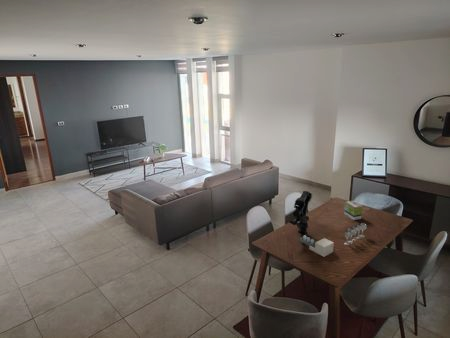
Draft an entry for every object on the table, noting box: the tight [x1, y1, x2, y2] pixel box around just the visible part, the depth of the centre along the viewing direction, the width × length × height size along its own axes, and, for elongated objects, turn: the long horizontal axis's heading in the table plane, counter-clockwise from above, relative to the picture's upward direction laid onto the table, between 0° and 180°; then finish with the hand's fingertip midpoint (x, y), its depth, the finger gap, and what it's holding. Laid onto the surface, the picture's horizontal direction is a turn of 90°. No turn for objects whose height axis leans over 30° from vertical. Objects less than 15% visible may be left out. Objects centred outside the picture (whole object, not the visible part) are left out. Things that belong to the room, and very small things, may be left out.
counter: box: [308, 237, 335, 258], centre depth 259 cm, size 15×12×9 cm
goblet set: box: [343, 222, 368, 246], centre depth 274 cm, size 28×6×13 cm, turn 124°
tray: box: [299, 235, 317, 248], centre depth 271 cm, size 14×6×6 cm, turn 35°
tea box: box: [343, 200, 363, 221], centre depth 317 cm, size 15×10×15 cm
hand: (298, 228), depth 277 cm, fingers closed
